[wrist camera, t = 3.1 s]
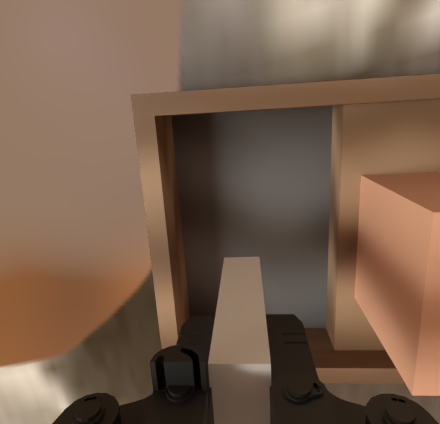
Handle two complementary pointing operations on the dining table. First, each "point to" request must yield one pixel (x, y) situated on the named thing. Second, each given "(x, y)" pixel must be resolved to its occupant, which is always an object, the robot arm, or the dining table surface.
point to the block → (402, 272)
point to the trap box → (279, 199)
